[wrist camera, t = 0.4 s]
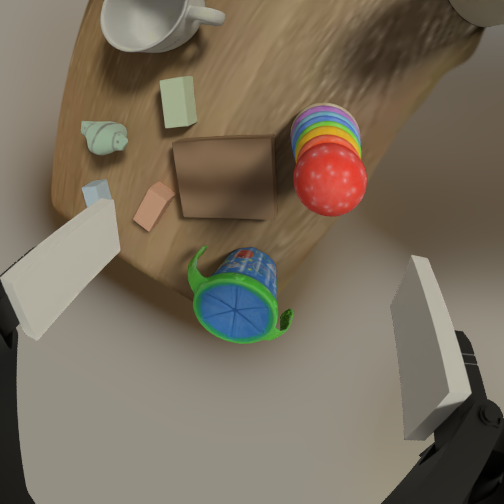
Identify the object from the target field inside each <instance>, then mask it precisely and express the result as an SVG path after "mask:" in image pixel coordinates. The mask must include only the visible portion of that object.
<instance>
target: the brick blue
mask: <svg viewBox="0 0 504 504" xmlns="http://www.w3.org/2000/svg"><path fill="white" fill-rule="evenodd" d="M82 190H83V194H84V198H85V201H86V205H87V208H88V207H89V206H91V205H92V204H94V203H95V202H96V201H98V200H99V199H101V198H104V199H110V200H112V199H111V195H110V191H109V187H108V183H107V179H106V180H97V181H92V182H90V183H89V184H87V185H85V186H84V187H82Z"/></svg>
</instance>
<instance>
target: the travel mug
mask: <svg viewBox="0 0 504 504" xmlns="http://www.w3.org/2000/svg"><path fill="white" fill-rule="evenodd" d="M449 1H450V3H451V5H452V6H453V8H454V9H455V10H456V12H457V13H458V14H459V15H460V16H461V17H463V18H464V19H465V20H467V21H468V22H470V23H472V24H474V25H476V26H480V27H491V26H495V25H501V24H504V0H449Z"/></svg>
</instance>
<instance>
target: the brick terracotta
mask: <svg viewBox="0 0 504 504" xmlns="http://www.w3.org/2000/svg"><path fill="white" fill-rule="evenodd" d="M175 194H176V193H174V192H173V191H172V190H170V189H169V188H168V187H166V186H165V185H164V184H162V183H161V182H160V181H159V182H157V183H156V184H155V185H153V186H152V187H151V188H149V190H148V192H147V194H146V196H145V197H144V199H143V201H142V203H141V205H140V207H139V209H138V211H137V213H136V215H135V217H134V219H133V220H134V221H136V222H137V223H138V224H139V225H141V226H142V227H143V228H145V229H146V230H147V231H149V232H150V231H151V230H152V229H153V228H154V227H155V226H156V225H157V224H158V222H159V221H160V219H161V217H162V216H163V214H164V212H165V211H166V209H167V207H168V206H169V204H170V202H171V201H172V199H173V198H174V196H175Z"/></svg>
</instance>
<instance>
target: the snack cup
mask: <svg viewBox="0 0 504 504" xmlns="http://www.w3.org/2000/svg"><path fill="white" fill-rule="evenodd" d="M206 248H207V246H204V247H202V248H201V249H200V250H199V251H198V252H197V253H196V255H195V256H194V257H193V258H192V260H191V261H190V263H189V265H188V272H187V274H188V282H189V284H190V287H191V289H192V291H193V293H194V299H193V309H194V312H195V315H196V317H197V319H198V320H199V322H200V323H201V324H202V326H203V327H205V329H207V330H208V331H209V332H210V333H212V334H213V335H215V336H217V337H219V338H221V339H223V340H226V341H229V342H233V343H241V344H242V343H243V344H246V343H254V342H258V341H261V340H272V339H275V338H277V337H279V336H281V335H282V334H283V333H284V332H285V331H287V329H288V328H289V326H290V324H291V322H292V318H293V310H292V309H288V310H286V311H285V312H284V313H283V314H282V315H281V317H280V319H281V321H280V330H278V329H277V328H276V323H277V319H278V303H277V301H276V298H277V297H276V292H277V273H276V266H275V263H274V261H272V259H271V258H270V257H269V256H268V255H266V254H265V253H263V252H261V251H259V250H257V249H256V248H253V247H250V248H241V249H238V250H235V251H234V252H232V253H231V254H230V255H229V256H228V257H227V258H226V259H225V260H224V261H223V262H222V263H221V265H220V266H219V267H218V268H217V269H216V271H215V272H214V273H213V274H212V275H211V276H210V277H204V276H202V275H201V274H200V272H199V271H198V270H197V261H198V259H199V257H200V256H201V255H202V254H203V253H204V251H205V250H206Z"/></svg>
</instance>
